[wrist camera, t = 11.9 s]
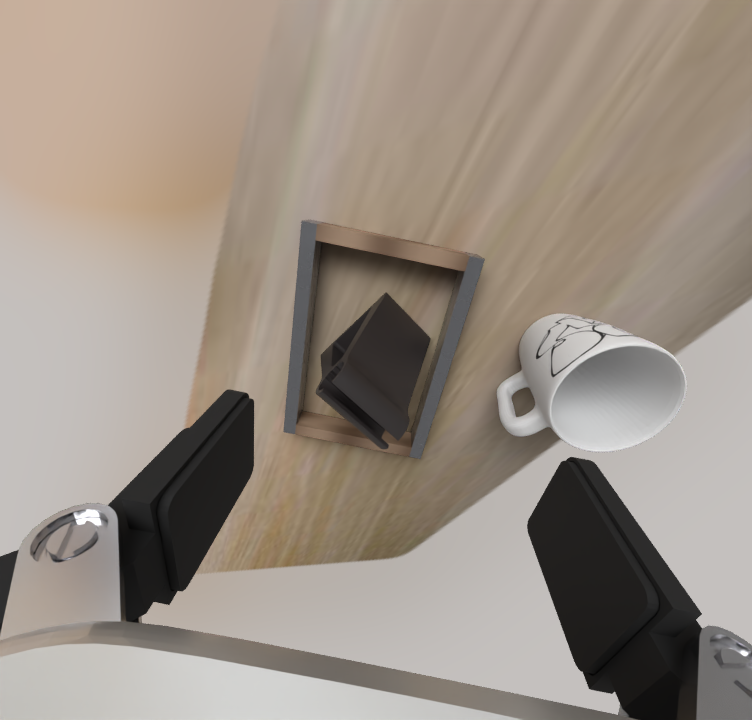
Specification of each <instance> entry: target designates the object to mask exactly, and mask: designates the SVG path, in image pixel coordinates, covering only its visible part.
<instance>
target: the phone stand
mask: <svg viewBox="0 0 752 720" xmlns="http://www.w3.org/2000/svg"><path fill="white" fill-rule="evenodd" d="M429 342H430V337H429V336H428V335H427V334H426V333H425V332H424V331H423V330H422V329H421V328H420V327H419V326H418V325H417V324H416V323H415V322H414V321H413V320H412V319H411V318H410V316H409V315H408V314H407V313H406V312H405V311H404V310H403V309H402V308H401V307H400V306H399V305H398V304H397V303H396V302H395V301H394V300H393V299H392V298H391V297H390V296H389V295H388V294H387V293H385V294H384V295H383V296H382V297H381V298H380V299H379V300H377V301H376V302H375V303H374V304H373V305H372V306H371V307H370V308H369V309H368V310H367V311H366V312H365V313H364V314H363V315H362V316H361V317H360V318H359V319H358V320H356V321H355V322H354V324H353V325H352V326H350V327H349V328H348V329H347V330H346V331H345V332H344V333H343V334H342V335H341V336H340V337H339V338H338V339H337V340H336V341H334V342H333V343H332V344H331V345H330V346H329V347H328V348H327V349H326V350H325V351H324V352H323V353H322V354H321V367H322V380H321V382H320V384H319V386H318V388H317V389H316V394H317V395H318V396H319V397H321V398H322V399H323V400H324V401H325V402H326V403H328V404H329V405H330V406H331V407H332V408H333V409H335V410H336V411H337V412H338V413H339V414H340V415H342V416H343V417H344V418H345V419H346V420H347V421H349V422H350V423H351V424H352V425H353V426H354V427H356V428H357V429H358V430H359V431H360V432H361V433H363V434H364V435H365V436H366V437H367V438H368V439H370V440H371V441H372V442H373V443H374V444H376V445H377V446H378V447H379V448H380V449H388V447H389V444H387V443H386V442H385V441H384V440H383V439H382V435H383V433H384V431H385V430H386V431H387V432H389V433H390V434H391V435H392V436H393V437H394V438H395V439H396V440H398V441H399V440H400V438H401V437H402V436H403V435H404V433H405V431H406V430H407V427H408V425H409V416H408V406H409V403H410V400H411V397H412V393H413V390H414V387H415V384H416V381H417V378H418V375H419V372H420V369H421V366H422V363H423V360H424V357H425V354H426V351H427V348H428V345H429Z"/></svg>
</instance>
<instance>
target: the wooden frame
mask: <svg viewBox="0 0 752 720" xmlns="http://www.w3.org/2000/svg"><path fill="white" fill-rule="evenodd" d="M322 242H326V243H330V244H335V245H340V246H345V247H350V248H354V249H359V250H364V251H369V252H374V253H378V254H383V255H388V256H393V257H398V258H402V259H407V260H412V261H417V262H421V263H426V264H431V265H436V266H441V267H445V268H450V269H455V270H459V271H458V274H457V278H456V281H455V285H454V288H453V292H452V295H451V298H450V302H449V305H448V309H447V312H446V315H445V319H444V322H443V326H442V329H441V332H440V336H439V339H438V343H437V346H436V349H435V353H434V356H433V360H432V363H431V366H430V370H429V373H428V377H427V380H426V383H425V387H424V390H423V394H422V397H421V400H420V404H419V407H418V411H417V414H416V417H415V421H414V424H413V428H412V431H411V432H406V431H405V433H404V435H403V436H402V437H401V438H400V440H399V441H398V440H396V439H395V438H394V437H393V436H392V435H391V434H390V433H389V432H387V431H386V430H385V431H384V433H383V435H382V439H383V440H384V441H385V442H386V443H387V444H389V447H388V449H380V448H379V447H378V446H377V445H376V444H374V443H373V442H372V441H371V440H370V439H368V438H367V437H366V436H365V435H364V434H363V433H361V432H360V431H359V430H358V429H357V428H356V427H354V426H353V425H352V424H351V423H350V422H349V421H347V420H345V419H340V418H335V417H330V416H325V415H320V414H315V413H310V412H305V411H303V404H304V395H305V386H306V377H307V369H308V360H309V351H310V342H311V333H312V324H313V316H314V307H315V298H316V289H317V280H318V271H319V263H320V254H321V245H322ZM484 260H485V259H484V258H482V257H480V256H479V255H476V254H471V253H466V252H461V251H457V250H452V249H447V248H442V247H437V246H433V245H428V244H423V243H418V242H414V241H409V240H404V239H399V238H395V237H390V236H385V235H380V234H376V233H371V232H366V231H361V230H356V229H352V228H347V227H342V226H337V225H333V224H328V223H323V222H318V221H314V220H304V221H302V224H301V235H300V247H299V259H298V270H297V282H296V293H295V305H294V317H293V328H292V340H291V352H290V363H289V375H288V387H287V398H286V410H285V422H284V432H286V433H292V434H297V435H302V436H307V437H312V438H317V439H322V440H327V441H332V442H337V443H342V444H347V445H352V446H357V447H362V448H367V449H373V450H378V451H383V452H388V453H393V454H398V455H403V456H408V457H413V458H418V459H420V458H421V455H422V452H423V449H424V446H425V443H426V440H427V437H428V434H429V431H430V427H431V424H432V421H433V418H434V415H435V412H436V409H437V406H438V403H439V400H440V396H441V393H442V390H443V387H444V384H445V381H446V378H447V375H448V372H449V369H450V366H451V362H452V359H453V356H454V353H455V350H456V347H457V344H458V341H459V338H460V335H461V331H462V328H463V325H464V322H465V319H466V316H467V313H468V310H469V307H470V304H471V301H472V297H473V294H474V291H475V288H476V285H477V282H478V279H479V276H480V273H481V270H482V266H483V263H484Z"/></svg>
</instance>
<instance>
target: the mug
mask: <svg viewBox="0 0 752 720" xmlns="http://www.w3.org/2000/svg"><path fill="white" fill-rule="evenodd" d="M519 358H520V362H521V366H522V369H521V371H520V372H518V373H516V374H515V375H513V376H511V377H509V378H508V379H506V380H505V381H503V382H502V383H501V384H500V386H499V387H498V389H497V400H498V408H499V417H500V420H501V422H502V424H503V426H504V427H505V429H506V430H507V431H508V432H509V433H510V434H512V435H514V436H519V437H522V436H529V435H532V434H534V433H536V432H538V431H541V430H542V429H544V428H546V427H551V428H552V430H553V431H554V432H555V433H556V434H557V435H558V437H559V438H561V439H562V440H563V441H564V442H566V443H568V444H569V445H571V446H573V447H576V448H578V449H581V450H585V451H590V452H613V451H619V450H623V449H627V448H630V447H633V446H636V445H638V444H640V443H643V442H645V441H647V440H649V439H650V438H652V437H653V436H655V435H656V434H658V433H659V432H660V431H662V430H663V429H664V428H665V427H666V426H667V425H668V424H669V423H670V422H671V421H672V420H673V419H674V417H675V416H676V415H677V413H678V412H679V410H680V408H681V406H682V404H683V402H684V399H685V395H686V388H687V382H686V376H685V373H684V370H683V368H682V366H681V364H680V363H679V362H678V360H677V359H676V358H675V357H674V356H673V355H672V354H670V353H669V352H668V351H667V350H665V349H663V348H661V347H660V346H658V345H656V344H654V343H652V342H649V341H647V340H645V339H642V338H640V337H638V336H635V335H633V334H631V333H628V332H626V331H624V330H622V329H619V328H617V327H614V326H612V325H609V324H605V323H602V322H599V321H595V320H591V319H587V318H583V317H579V316H575V315H571V314H552V315H548V316H546V317H543V318H541V319H539V320H537V321H536V322H535V323H533V324H532V325H531V326H530V327H529V328H528V329H527V330H526V331H525V333H524V334H523V336H522V338H521V341H520V344H519ZM525 387H529V388H530V390H531V392H532V394H533V397H534V399H535V406H534V408H533V409H532V410H531V411H530V412H529V413H527V414H525V415H523V416H520V417H516V414H515V410H514V406H513V402H512V395H513V394H514V393H515V392H516V391H518V390H520V389H522V388H525Z"/></svg>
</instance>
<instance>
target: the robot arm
mask: <svg viewBox="0 0 752 720" xmlns="http://www.w3.org/2000/svg"><path fill="white" fill-rule="evenodd" d="M253 466H254V400H253V399H249V395H248V394H247V393H244V392H239V391H234V390H226V391H225V392H224V393H223V394H222V395H221V396H220V397H219V398H218V399H217V400H216V401H215V402H214V403H213V404H212V405H211V406H210V407H209V409H208V410H207V411H206V412H205V413H204V414H203V415H202V416H201V417H200V418H199V419H198V420H197V421H196V422H195V423H194V424H193V425H192V426H191V427H190V428H186V429H184V430H182V431H181V432H180V433H179V434H178V435H177V436H176V437H175V438H174V439H173V440H172V441H171V442H170V443H169V444H168V445H167V446H166V447H165V448H164V449H163V450H162V451H161V452H160V453H159V454H158V455H157V456H156V457H155V458H154V459H153V460H152V461H151V462H150V463H149V464H148V465H147V466H146V467H145V468H144V469H143V470H142V472H140V473H139V474H138V475H137V477H135V478H134V479H133V480H132V481H131V482H130V483H129V484H128V485H127V487H125V488H124V489H123V490H122V491H121V493H119V495H118V496H116V498H115V499H114V500H113V501H112V502H111V503H110V504H109V505H108V506H107V505H103V504H99V503H96V504H95V503H92V504H91V503H90V504H89V503H87V504H83V505H77V506H73V507H70V508H68V509H65V510H62V511H60V512H58V513H56V514H54V515H52V516H51V517H49V518H47V519H45V520H44V521H43V522H41V523H40V524H39V525H38V526H36V527H35V528H34V529H32V531H31V532H30V533H29V534H28V535H27V537H26V538H25V539H24V540H23V542H22V544H21V546H20V549H19V550H17V551H14V552H11V553H9V554H6V555H3V556H1V557H0V720H752V645H751V644H749V643H748V642H747V641H745V640H744V639H742V638H740V637H739V636H737V635H735V634H734V633H732V632H730V631H728V630H725V629H723V628H720V627H716V626H707V627H705V628H701V627H700V625H699V624H698V622H697V621H696V619H697V618H698V617H699V616H700V615H701V614H702V613H701V612H700V611H699V609H698V608H697V606H696V605H695V603H694V602H693V601H692V599H691V598H690V596H689V595H688V594H687V592H686V591H685V589H684V588H683V587H682V585H681V584H680V583H679V581H678V580H677V578H676V577H675V575H674V574H673V573H672V571H671V570H670V568H669V567H668V565H667V564H666V563H665V561H664V560H663V558H662V557H661V556H660V554H659V553H658V551H657V550H656V548H655V547H654V546H653V544H652V543H651V541H650V540H649V539H648V537H647V536H646V534H645V533H644V532H643V530H642V529H641V527H640V526H639V525H638V523H637V522H636V521H635V519H634V517H633V516H632V515H631V513H630V512H629V510H628V509H627V508H626V506H625V505H624V504H623V502H622V501H621V499H620V498H619V496H618V495H617V493H616V492H615V491H614V489H613V488H612V486H611V485H610V484H609V482H608V481H607V479H606V478H605V477H604V475H603V474H602V472H601V471H600V469H599V468H598V467H597V465H596V464H595V463H594V462H592V461H590V460H585V459H579V458H574V457H570V458H568V459H567V460H566V461H562V462H561V463H560V465H559V467H558V469H557V470H556V472H555V474H554V476H553V477H552V479H551V481H550V483H549V484H548V486H547V488H546V490H545V492H544V493H543V495H542V497H541V499H540V501H539V502H538V504H537V506H536V508H535V509H534V511H533V513H532V515H531V516H530V518H529V520H528V525H527V528H528V534H529V536H530V539H531V542H532V545H533V548H534V550H535V553H536V556H537V559H538V562H539V564H540V567H541V570H542V573H543V575H544V578H545V581H546V584H547V586H548V589H549V592H550V595H551V598H552V600H553V603H554V606H555V609H556V612H557V614H558V617H559V620H560V623H561V626H562V628H563V631H564V634H565V637H566V640H567V642H568V645H569V648H570V651H571V654H572V656H573V659H574V662H575V664H576V666H577V667H578V669H579V670H580V671H582V672H583V674H584V676H585V679H586V682H587V684H588V687H589V689H591V690H596V691H601V692H606V693H611V694H612V693H613V692H616V695H617V697H618V699H619V702H620V708H619V713H618V715H615V714H611V713H606V712H601V711H596V710H592V709H587V708H582V707H577V706H572V705H568V704H563V703H557V702H553V701H548V700H543V699H539V698H533V697H529V696H524V695H519V694H514V693H510V692H505V691H500V690H495V689H490V688H485V687H480V686H475V685H470V684H465V683H460V682H455V681H450V680H446V679H440V678H435V677H431V676H426V675H421V674H416V673H410V672H406V671H400V670H396V669H391V668H386V667H380V666H376V665H371V664H366V663H361V662H355V661H351V660H346V659H340V658H335V657H330V656H325V655H320V654H315V653H309V652H304V651H299V650H294V649H289V648H284V647H279V646H274V645H269V644H263V643H259V642H253V641H248V640H243V639H238V638H232V637H226V636H220V635H215V634H209V633H203V632H197V631H191V630H185V629H180V628H174V627H168V626H161V625H151V624H143V623H142V618H141V616H142V615H144V614H146V613H147V611H148V609H149V608H150V606H151V605H152V603H153V602H158V603H163V604H168V605H169V604H170V603H171V601H172V599H173V598H174V596H175V594H176V593H177V591H183V590H185V589H186V587H187V586H188V584H189V583H190V581H191V579H192V577H193V576H194V574H195V573H196V571H197V569H198V567H199V566H200V564H201V562H202V560H203V559H204V557H205V555H206V553H207V552H208V550H209V548H210V546H211V545H212V543H213V541H214V539H215V538H216V536H217V534H218V533H219V531H220V529H221V527H222V526H223V524H224V522H225V520H226V519H227V517H228V515H229V513H230V512H231V510H232V508H233V506H234V505H235V503H236V501H237V499H238V498H239V496H240V494H241V492H242V491H243V489H244V487H245V486H246V484H247V482H248V480H249V479H250V477H251V474H252V471H253Z"/></svg>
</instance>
